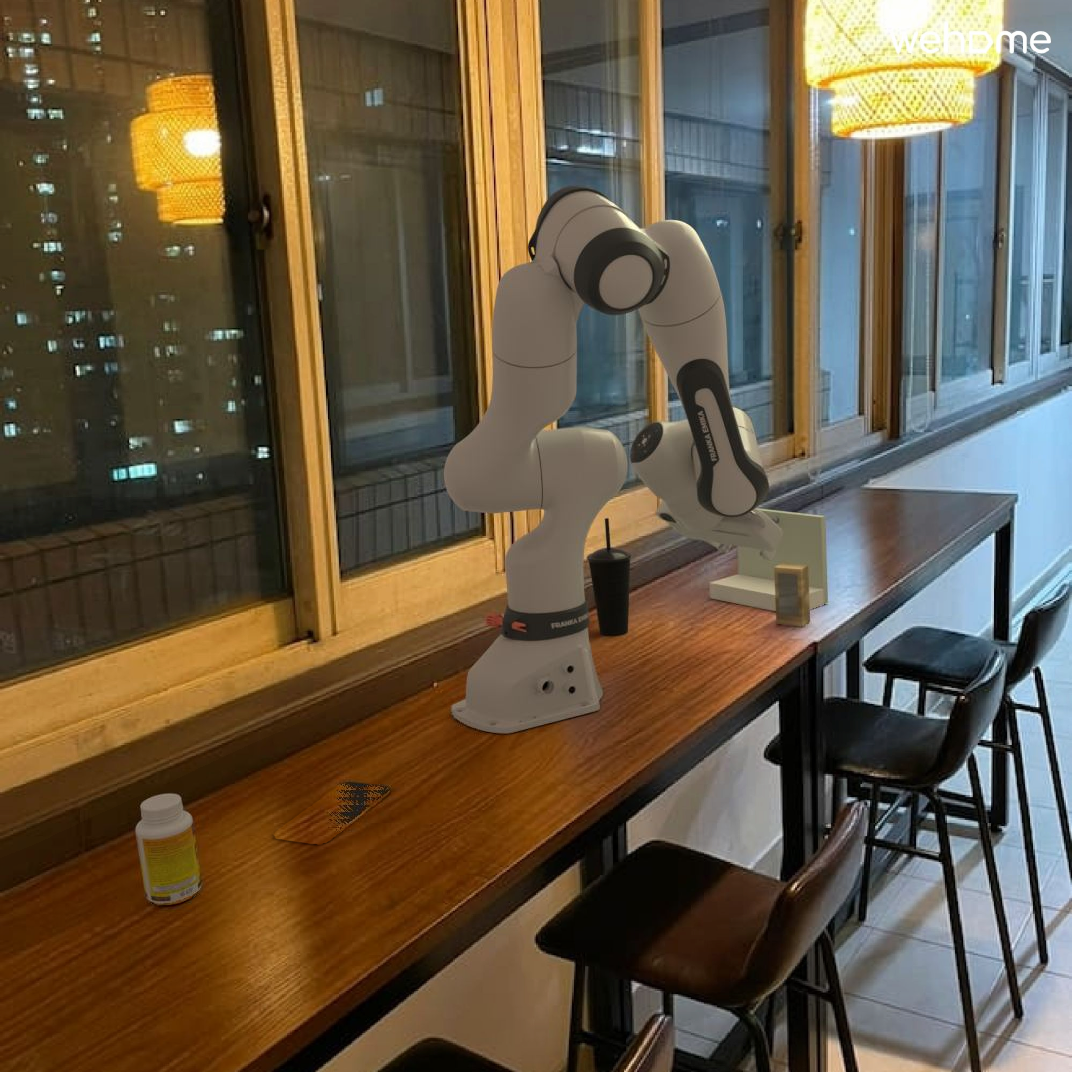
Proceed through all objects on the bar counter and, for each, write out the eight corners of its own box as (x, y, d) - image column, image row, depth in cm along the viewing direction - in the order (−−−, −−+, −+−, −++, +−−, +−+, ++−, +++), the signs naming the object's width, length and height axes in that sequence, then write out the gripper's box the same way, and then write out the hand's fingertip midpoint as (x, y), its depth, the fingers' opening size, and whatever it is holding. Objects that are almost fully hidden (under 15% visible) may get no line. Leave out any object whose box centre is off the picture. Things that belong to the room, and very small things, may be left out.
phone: (268, 835, 128) (342, 780, 141) (269, 842, 128) (343, 786, 141) (323, 843, 125) (394, 786, 138) (324, 850, 125) (395, 792, 138)
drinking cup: (633, 638, 193) (626, 522, 189) (589, 638, 194) (580, 523, 190) (638, 625, 200) (631, 513, 196) (595, 626, 202) (587, 515, 198)
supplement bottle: (212, 892, 116) (199, 799, 114) (161, 914, 113) (146, 818, 111) (187, 875, 121) (174, 785, 119) (137, 896, 117) (122, 803, 115)
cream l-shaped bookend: (794, 615, 199) (791, 525, 195) (710, 598, 214) (705, 514, 211) (828, 603, 204) (825, 516, 201) (743, 587, 220) (739, 506, 217)
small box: (802, 627, 191) (800, 569, 189) (776, 624, 194) (773, 567, 192) (810, 622, 194) (808, 565, 192) (783, 619, 196) (781, 563, 195)
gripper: (762, 492, 169) (807, 544, 176) (667, 481, 185) (712, 529, 193) (742, 527, 167) (789, 578, 175) (648, 513, 183) (694, 560, 191)
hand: (748, 552), depth 184 cm, fingers open, 8 cm apart
